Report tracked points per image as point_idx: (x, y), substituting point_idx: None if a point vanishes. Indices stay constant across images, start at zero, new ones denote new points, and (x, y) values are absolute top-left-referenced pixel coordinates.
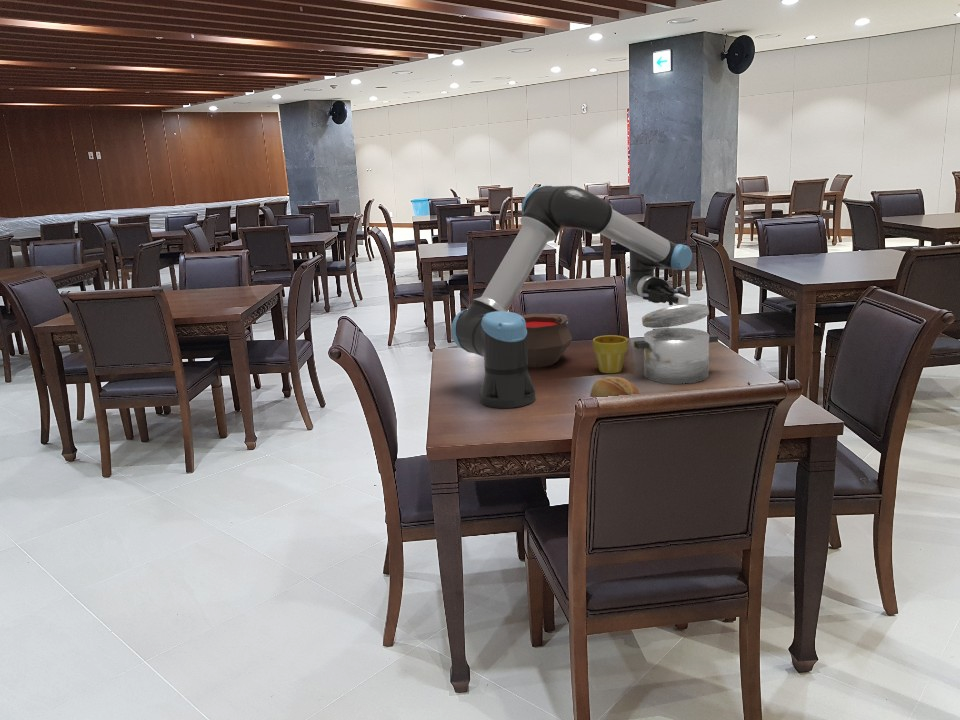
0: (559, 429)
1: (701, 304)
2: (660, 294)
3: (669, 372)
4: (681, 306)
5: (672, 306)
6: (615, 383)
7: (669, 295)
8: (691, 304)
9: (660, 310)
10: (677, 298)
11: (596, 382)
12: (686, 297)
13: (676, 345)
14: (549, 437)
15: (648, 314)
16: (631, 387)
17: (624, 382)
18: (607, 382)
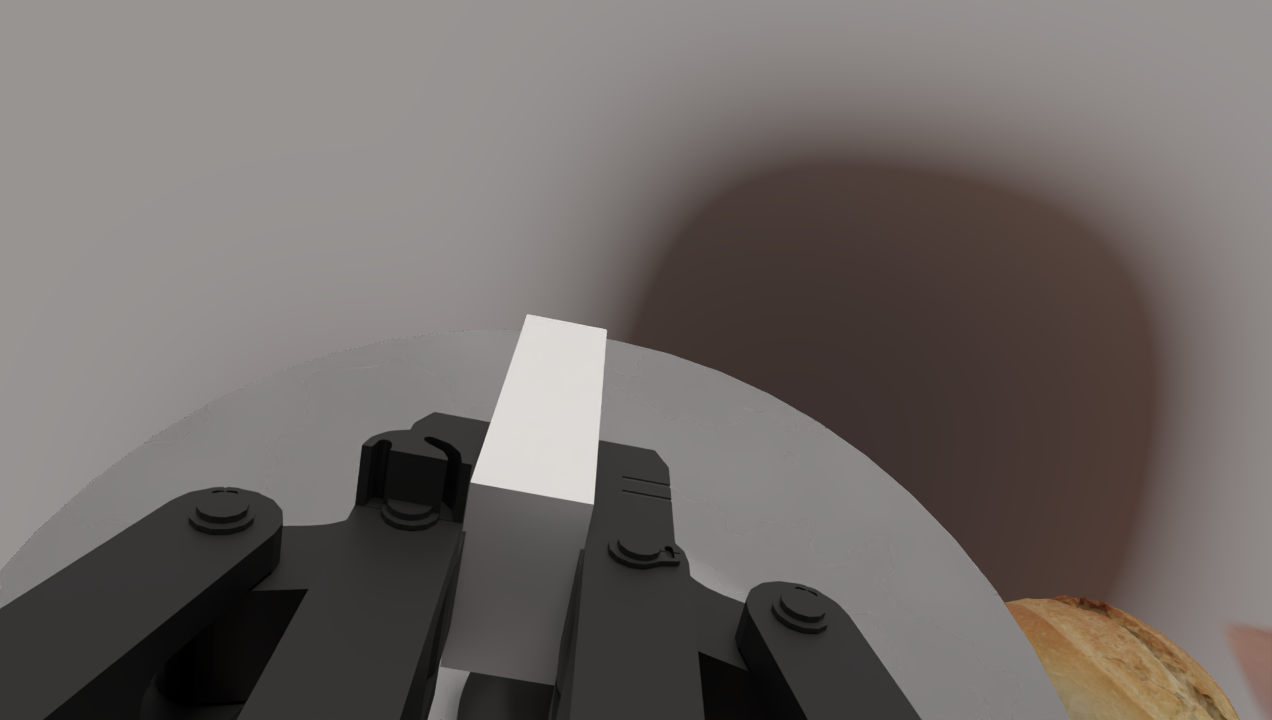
0: (1260, 674)
1: (387, 342)
2: (882, 683)
3: None
4: (681, 371)
5: (783, 403)
6: (1108, 606)
7: (677, 571)
8: None
9: (908, 509)
10: (606, 451)
11: (1228, 699)
12: (555, 324)
13: None
14: (1268, 638)
15: (1045, 691)
16: (1016, 604)
17: (1062, 606)
18: (1156, 630)
